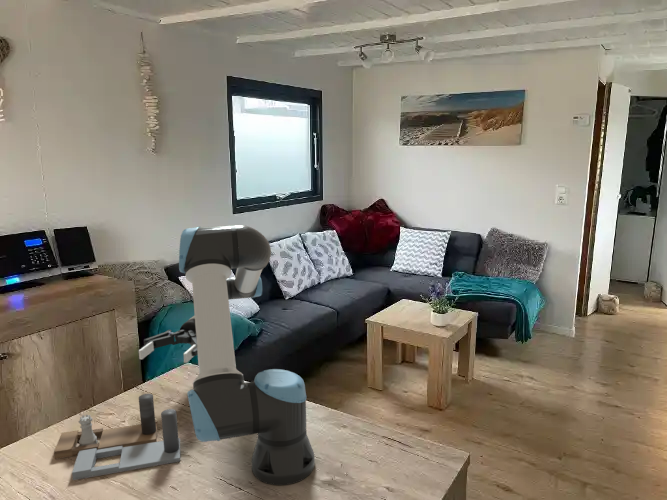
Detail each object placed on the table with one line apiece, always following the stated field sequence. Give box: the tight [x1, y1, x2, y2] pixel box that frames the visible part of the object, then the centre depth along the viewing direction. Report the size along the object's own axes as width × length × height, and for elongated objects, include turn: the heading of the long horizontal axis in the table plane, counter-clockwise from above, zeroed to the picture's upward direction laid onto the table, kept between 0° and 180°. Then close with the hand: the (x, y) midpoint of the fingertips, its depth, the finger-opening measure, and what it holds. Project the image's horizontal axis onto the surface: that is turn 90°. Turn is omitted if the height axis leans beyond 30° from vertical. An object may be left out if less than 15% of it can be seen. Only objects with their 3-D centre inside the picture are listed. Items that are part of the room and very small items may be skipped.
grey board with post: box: [71, 408, 181, 481], centre depth 125 cm, size 9×24×11 cm, turn 106°
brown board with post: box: [53, 393, 159, 460], centre depth 133 cm, size 9×24×11 cm, turn 106°
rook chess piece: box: [78, 414, 98, 447], centre depth 132 cm, size 4×4×8 cm
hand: (162, 356), depth 142 cm, fingers open, 13 cm apart
